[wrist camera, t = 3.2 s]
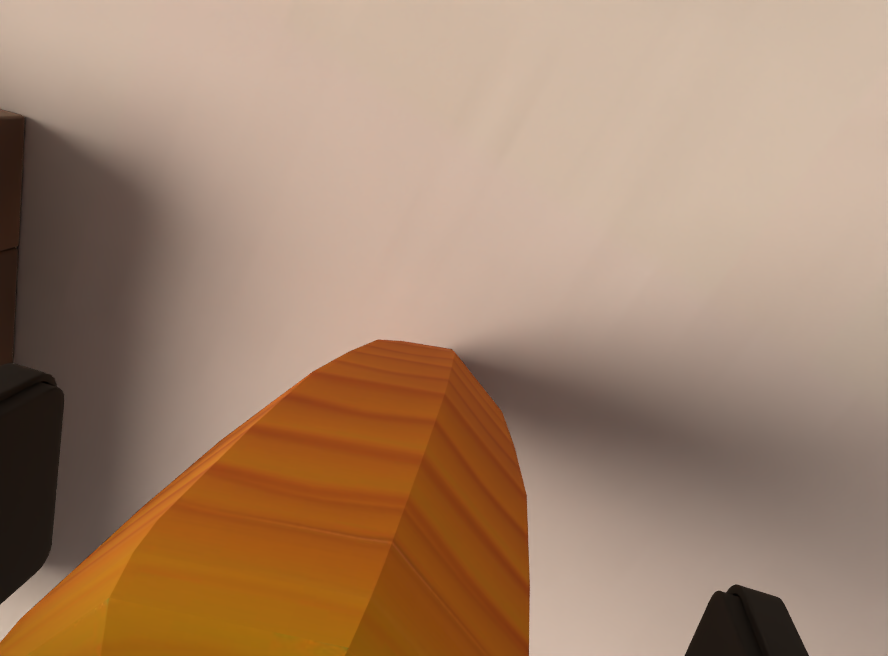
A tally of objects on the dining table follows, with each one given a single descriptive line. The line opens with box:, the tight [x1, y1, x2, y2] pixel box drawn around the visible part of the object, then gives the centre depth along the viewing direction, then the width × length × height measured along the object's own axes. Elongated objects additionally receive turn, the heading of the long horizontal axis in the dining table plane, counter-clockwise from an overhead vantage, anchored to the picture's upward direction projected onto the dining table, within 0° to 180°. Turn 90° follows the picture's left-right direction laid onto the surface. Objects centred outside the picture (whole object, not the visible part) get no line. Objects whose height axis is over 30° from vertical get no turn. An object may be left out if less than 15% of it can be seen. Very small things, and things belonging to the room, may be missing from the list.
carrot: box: [0, 340, 530, 656], centre depth 9 cm, size 5×5×15 cm
